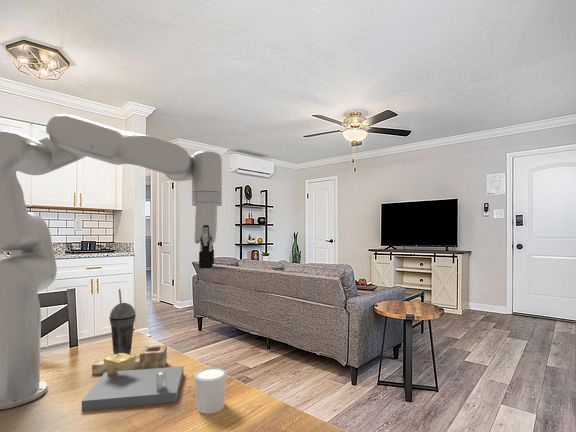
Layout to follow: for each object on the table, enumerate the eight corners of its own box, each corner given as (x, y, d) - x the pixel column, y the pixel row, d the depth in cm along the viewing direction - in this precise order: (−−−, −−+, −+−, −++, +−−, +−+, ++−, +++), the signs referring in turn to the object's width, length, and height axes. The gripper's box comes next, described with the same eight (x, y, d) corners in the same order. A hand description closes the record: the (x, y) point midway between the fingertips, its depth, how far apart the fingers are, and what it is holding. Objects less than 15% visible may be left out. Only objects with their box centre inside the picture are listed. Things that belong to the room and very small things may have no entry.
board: (81, 410, 73) (81, 401, 73) (104, 380, 88) (105, 372, 88) (176, 401, 76) (176, 392, 77) (183, 374, 91) (183, 366, 91)
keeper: (99, 384, 85) (100, 357, 86) (117, 376, 89) (118, 351, 90) (117, 390, 82) (118, 362, 82) (135, 382, 86) (135, 356, 86)
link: (89, 376, 90) (90, 357, 90) (97, 367, 96) (98, 349, 96) (163, 371, 93) (163, 352, 93) (166, 362, 99) (166, 344, 99)
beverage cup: (140, 354, 106) (141, 287, 106) (117, 361, 100) (118, 291, 100) (126, 349, 110) (127, 285, 110) (103, 356, 104) (104, 289, 104)
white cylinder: (219, 416, 70) (219, 381, 71) (188, 413, 72) (188, 378, 72) (231, 400, 77) (231, 368, 77) (202, 397, 78) (203, 366, 79)
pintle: (155, 400, 77) (155, 375, 77) (157, 396, 79) (157, 371, 79) (165, 399, 77) (166, 374, 78) (167, 395, 80) (167, 370, 80)
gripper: (195, 202, 98) (194, 263, 98) (188, 196, 81) (188, 270, 81) (222, 202, 100) (222, 262, 99) (221, 197, 83) (221, 269, 82)
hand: (206, 266), depth 90 cm, fingers open, 9 cm apart
